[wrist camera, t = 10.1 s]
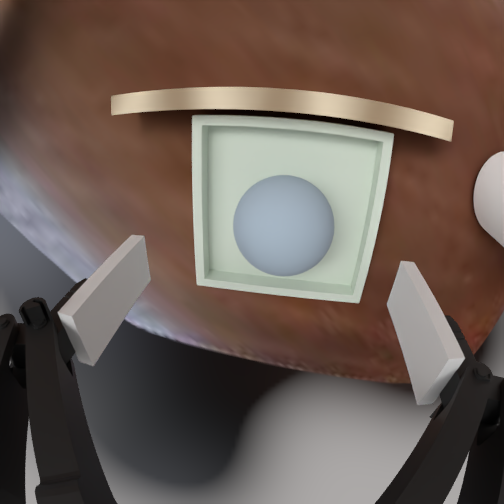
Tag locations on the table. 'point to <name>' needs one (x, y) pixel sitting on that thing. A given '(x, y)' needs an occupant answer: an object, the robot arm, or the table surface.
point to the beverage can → (491, 197)
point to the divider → (284, 106)
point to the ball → (283, 225)
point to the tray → (294, 164)
